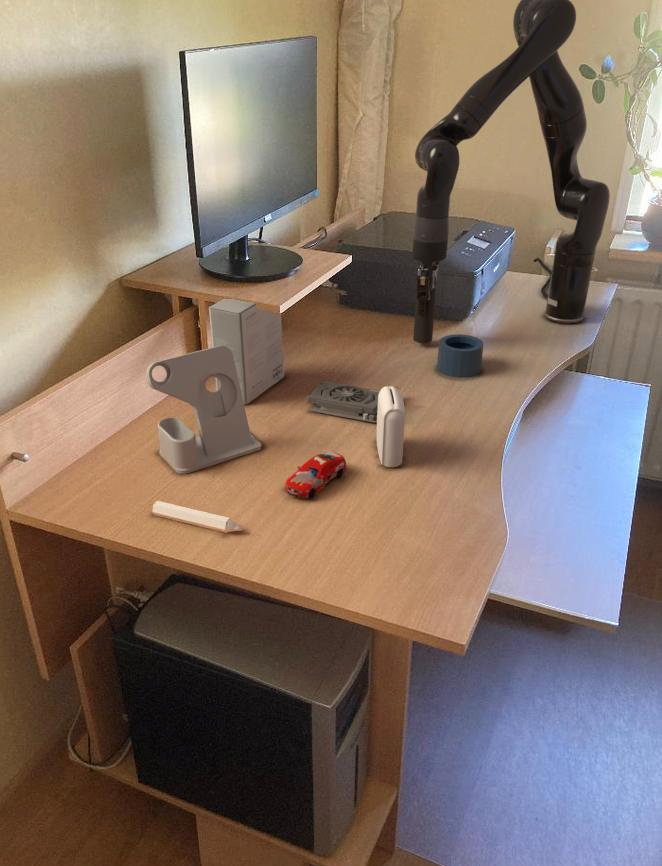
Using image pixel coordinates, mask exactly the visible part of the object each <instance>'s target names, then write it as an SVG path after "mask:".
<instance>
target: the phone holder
mask: <svg viewBox="0 0 662 866" xmlns="http://www.w3.org/2000/svg"><path fill="white" fill-rule="evenodd" d="M156 367H162V368H163V369H164V370H165V378H164V379H163V380H162V381H158V380H156V379H154V377H153V370H154V369H155V368H156ZM145 376H146V380H147V384H148V386H149V387H150V388H151V389H153V390H155V391H157V392H160V393H163V394H165V395H168V396H170V397H173V398H175V399H176V400H180V401H182V402H185V403H187V404H189V405H190V406H191V407H192V409H193V413H194V417H195V422H196V425H197V429H198V434H199V435H196V433H195V431H194V430H192V429H191V427H189V426H188V425H187V424H186V423H185V422H184V421H183V420H181V419H180V418H177V417H166V418H163V419H161V420H160V421H159V422H157V433H158V440H159V449H158V450H159V451H158V452H159V456H161V458H162V459H163V460H164V461H165V462H166V463H167V465H169V466H170V467H171V468H172V469H173V470H174V471H175V473H177V474H180V475H186V474H190V473H192V472H196V471H199V470H202V469H205V468H209V467H211V466H214V465H217V464H220V463H221V464H222V463H225V462H227V461H229V460H233V459H236V458H240V457H243V456H246V455H249V454H251V453H256V452H258V451H260V450H261V449H262V443H261V441H259V439H257V438H256V437H255V436H253V435H252V434H251V430H250V426H249V421H248V416H247V412H246V408H245V405H244V402H243V398H242V393H241V389H240V384H239V380H238V375H237V371H236V366H235V362H234V357H233V354H232V351H231V350H230V349H229V348H227V347H225V346H216V347H213V346H211V347H209V348H205V349H201V350H196V351H193V352H188V353H185V354H181V355H177V356H173V357H169V358H168V357H167V358H165V359H161V360H157V361H153V362H151V363H150V364H148V366H147V368H146V372H145ZM212 377H213V378H215V377H216V378H217V379H218V380H219V382H220V387H219V389H218V390H217V389H216V391H213V392H212V391H210V390H208V389H207V387H206V381H208V380H209V379H210V378H212ZM216 378H215V379H216Z"/></svg>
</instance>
